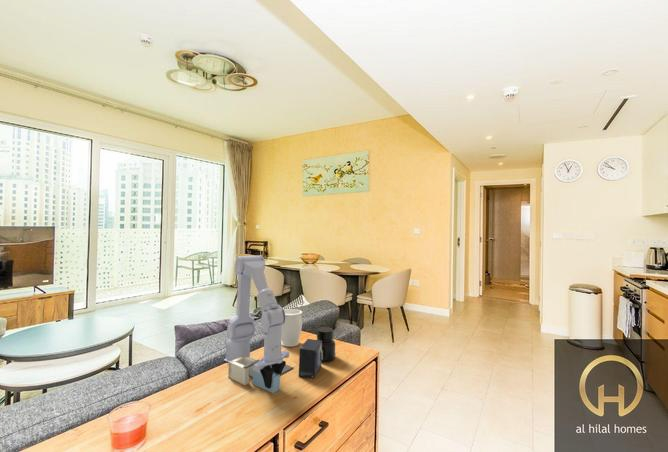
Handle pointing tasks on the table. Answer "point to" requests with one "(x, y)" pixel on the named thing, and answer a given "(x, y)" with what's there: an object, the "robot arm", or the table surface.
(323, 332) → the ink bottle
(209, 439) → the table surface
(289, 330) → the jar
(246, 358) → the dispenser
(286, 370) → the mat
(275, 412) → the table surface
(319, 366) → the small box
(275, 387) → the slab
